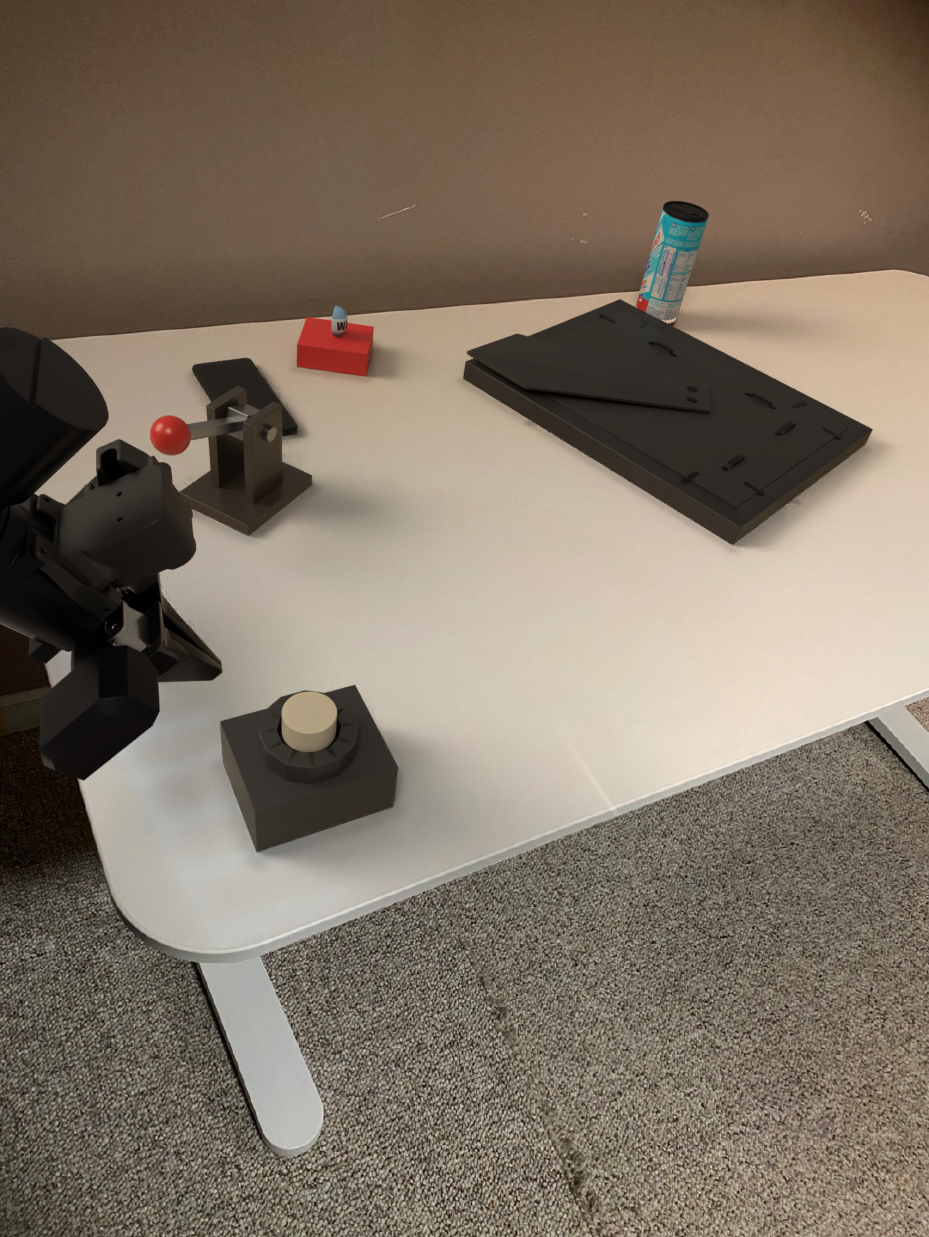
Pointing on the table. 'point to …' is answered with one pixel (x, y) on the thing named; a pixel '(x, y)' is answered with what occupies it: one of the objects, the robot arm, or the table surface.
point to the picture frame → (669, 414)
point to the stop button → (309, 721)
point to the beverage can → (671, 259)
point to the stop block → (307, 772)
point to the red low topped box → (335, 345)
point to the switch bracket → (246, 469)
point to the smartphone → (241, 385)
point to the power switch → (196, 429)
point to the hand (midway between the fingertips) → (217, 671)
